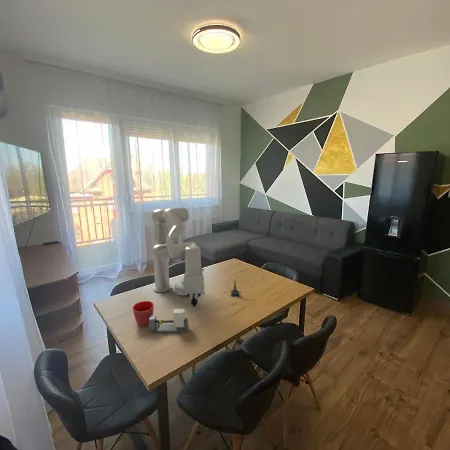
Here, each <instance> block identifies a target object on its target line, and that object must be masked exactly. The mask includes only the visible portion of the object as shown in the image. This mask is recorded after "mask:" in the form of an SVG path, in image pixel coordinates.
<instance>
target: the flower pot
mask: <svg viewBox="0 0 450 450" xmlns="http://www.w3.org/2000/svg"><path fill="white" fill-rule="evenodd" d="M154 307H155V304H154V303H153V302H152V301H149V300H142V301H140V302H136V303H135V304H134V305H133V306H132V313H133V315H134V319H135V322H136V324H137V326H139V327H147V326H150V325H149V319H150V317H151V315H154Z"/></svg>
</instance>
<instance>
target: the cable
mask: <svg viewBox="0 0 450 450" xmlns="http://www.w3.org/2000/svg"><path fill="white" fill-rule="evenodd" d="M183 281H184V278H181V279H179V280H177V281H175V283H174V293H175V294H176V295H178V296H184V295H183Z"/></svg>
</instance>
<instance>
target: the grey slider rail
mask: <svg viewBox="0 0 450 450" xmlns="http://www.w3.org/2000/svg"><path fill="white" fill-rule="evenodd" d="M189 325H190V324H189V318H188V317H185V320H184V327H174V319H170V320H169V319H168V320H166V319H163V318H159V320H157V315H156V314H153V315H151V317H150V319H149V325H148V326H149V332H150V333H151V334H187V333H188V330H189Z"/></svg>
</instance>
